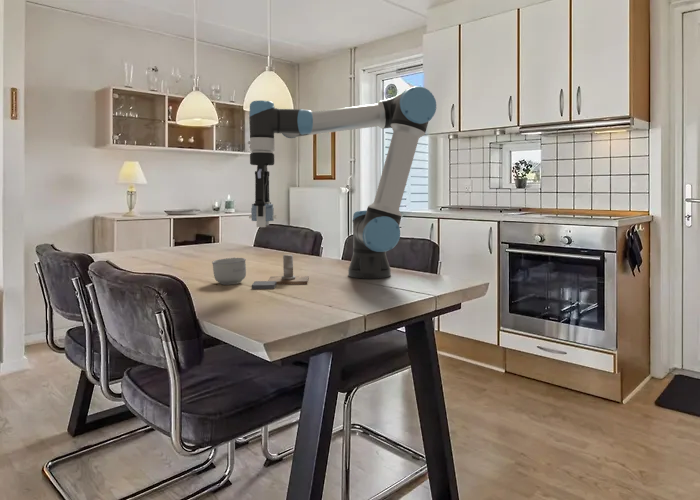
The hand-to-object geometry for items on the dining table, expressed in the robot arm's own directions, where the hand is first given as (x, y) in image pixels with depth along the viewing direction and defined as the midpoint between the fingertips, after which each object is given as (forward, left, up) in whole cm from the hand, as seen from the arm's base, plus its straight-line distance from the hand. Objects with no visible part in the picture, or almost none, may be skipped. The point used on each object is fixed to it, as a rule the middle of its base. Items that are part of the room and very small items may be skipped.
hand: (262, 226), depth 169 cm
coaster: (0, 0, -19) cm, 19 cm away
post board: (-7, -8, -19) cm, 22 cm away
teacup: (+12, -8, -20) cm, 24 cm away
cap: (0, 0, +2) cm, 2 cm away
